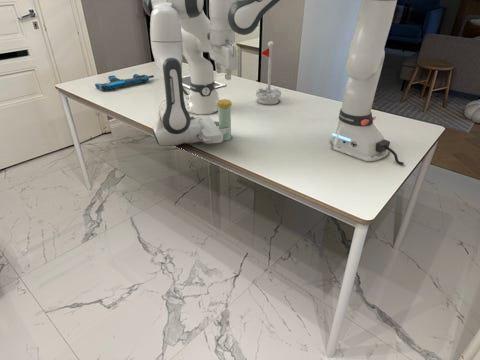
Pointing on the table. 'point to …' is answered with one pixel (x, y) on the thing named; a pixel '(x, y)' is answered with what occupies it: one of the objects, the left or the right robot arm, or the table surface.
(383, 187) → the table surface
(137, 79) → the submachine gun
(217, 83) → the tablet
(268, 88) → the flag stand
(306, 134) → the table surface
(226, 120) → the pale green cylinder
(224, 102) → the lid
